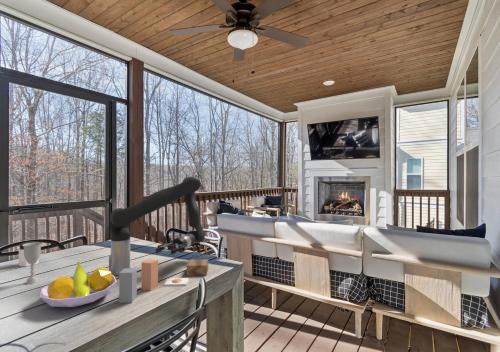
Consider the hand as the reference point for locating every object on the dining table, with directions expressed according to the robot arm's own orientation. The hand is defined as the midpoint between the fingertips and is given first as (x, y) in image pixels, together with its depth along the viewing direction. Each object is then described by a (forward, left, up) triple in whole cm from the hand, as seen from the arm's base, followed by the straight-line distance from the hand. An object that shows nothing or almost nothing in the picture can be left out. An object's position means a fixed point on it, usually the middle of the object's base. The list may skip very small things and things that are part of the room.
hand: (163, 251), depth 132 cm
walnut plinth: (+15, +9, -13) cm, 22 cm away
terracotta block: (-4, -10, -13) cm, 17 cm away
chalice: (-61, -1, -14) cm, 62 cm away
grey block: (-9, -22, -13) cm, 27 cm away
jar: (-82, +26, -14) cm, 87 cm away
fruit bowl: (-29, -19, -14) cm, 37 cm away
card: (+7, -5, -13) cm, 16 cm away
